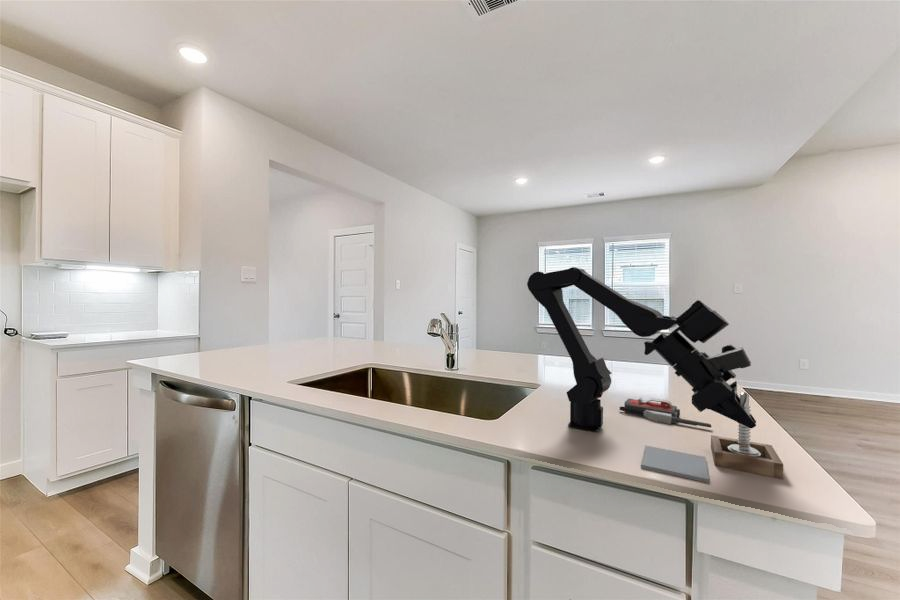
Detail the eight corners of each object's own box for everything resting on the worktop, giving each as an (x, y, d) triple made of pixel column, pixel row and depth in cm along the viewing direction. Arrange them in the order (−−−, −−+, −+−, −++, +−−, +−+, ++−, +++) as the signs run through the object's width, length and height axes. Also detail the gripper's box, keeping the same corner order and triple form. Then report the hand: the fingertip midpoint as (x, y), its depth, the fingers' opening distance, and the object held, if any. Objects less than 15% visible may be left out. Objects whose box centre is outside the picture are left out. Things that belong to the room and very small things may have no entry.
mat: (640, 467, 66) (640, 464, 66) (645, 448, 75) (645, 445, 75) (709, 482, 61) (709, 479, 61) (705, 460, 70) (705, 456, 70)
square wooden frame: (714, 465, 68) (714, 451, 67) (710, 447, 76) (711, 435, 76) (783, 479, 63) (783, 464, 63) (771, 458, 71) (771, 445, 71)
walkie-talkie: (616, 415, 97) (711, 433, 84) (617, 398, 96) (711, 414, 84) (624, 407, 104) (712, 423, 91) (625, 391, 103) (713, 405, 91)
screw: (766, 464, 68) (750, 469, 66) (737, 454, 72) (721, 458, 70) (767, 393, 68) (751, 396, 66) (738, 387, 72) (722, 390, 70)
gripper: (715, 335, 64) (802, 413, 57) (723, 328, 78) (793, 389, 72) (662, 375, 69) (736, 450, 62) (679, 361, 84) (740, 421, 77)
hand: (754, 425), depth 68 cm, fingers closed on screw, 2 cm apart
